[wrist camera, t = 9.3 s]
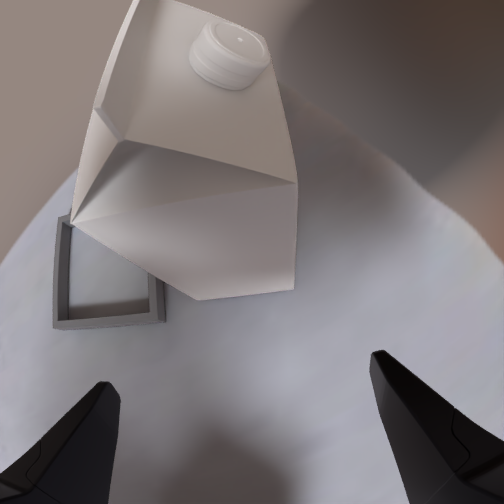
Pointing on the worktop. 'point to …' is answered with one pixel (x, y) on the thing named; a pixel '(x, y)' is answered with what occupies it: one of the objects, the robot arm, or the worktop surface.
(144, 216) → the milk carton
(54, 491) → the robot arm
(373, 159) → the worktop surface
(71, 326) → the drip tray
